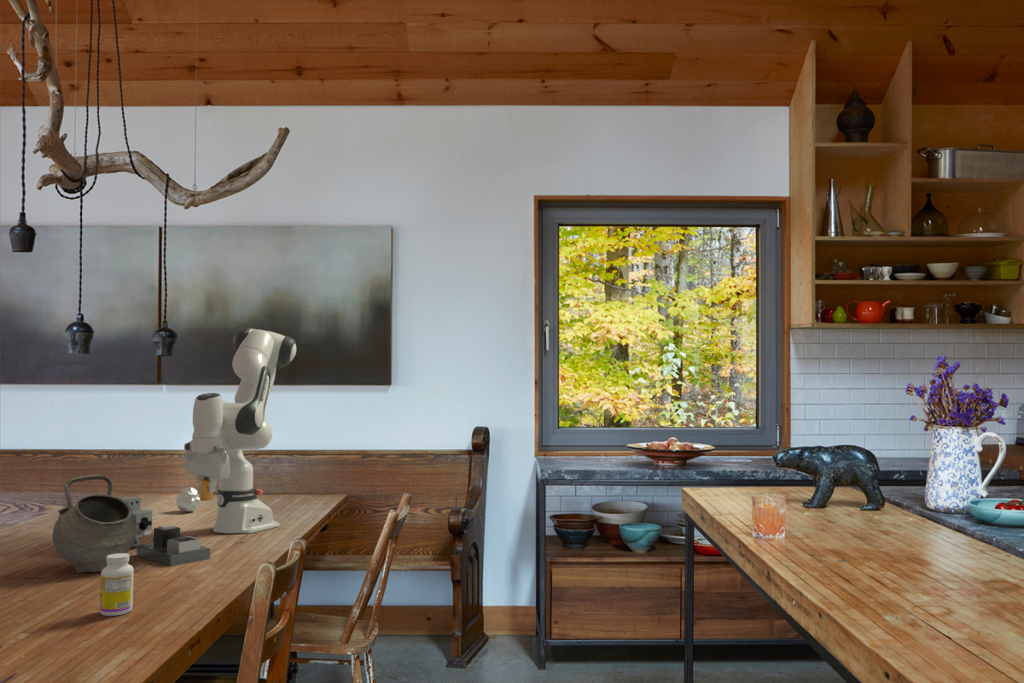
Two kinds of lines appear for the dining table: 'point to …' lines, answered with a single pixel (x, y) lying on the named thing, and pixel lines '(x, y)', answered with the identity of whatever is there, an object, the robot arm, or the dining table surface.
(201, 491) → the orange rounded cylinder
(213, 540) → the dining table surface
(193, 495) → the silver crumpled lump
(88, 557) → the pot
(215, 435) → the robot arm
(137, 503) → the circuit breaker
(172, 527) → the button
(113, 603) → the supplement bottle
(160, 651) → the dining table surface
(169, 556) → the grey socket board
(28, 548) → the dining table surface
